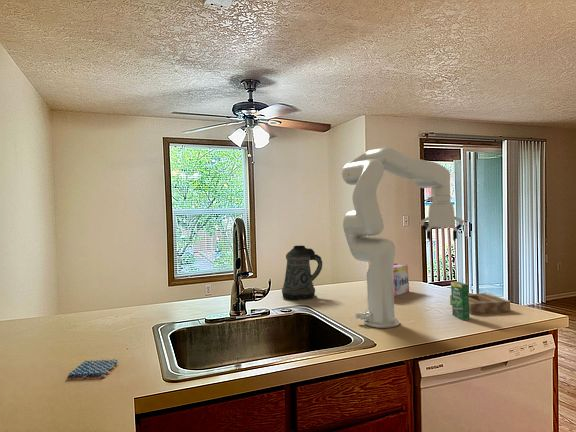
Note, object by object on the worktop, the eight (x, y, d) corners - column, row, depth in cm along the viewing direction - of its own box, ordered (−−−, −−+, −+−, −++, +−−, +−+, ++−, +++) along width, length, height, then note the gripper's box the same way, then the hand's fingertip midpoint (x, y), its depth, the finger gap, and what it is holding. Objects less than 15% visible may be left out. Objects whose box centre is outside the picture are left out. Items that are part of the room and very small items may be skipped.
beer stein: (276, 295, 197) (274, 246, 197) (310, 291, 205) (309, 243, 205) (290, 302, 182) (288, 248, 182) (326, 296, 190) (325, 245, 190)
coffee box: (451, 314, 152) (450, 281, 151) (458, 314, 152) (457, 280, 152) (462, 320, 144) (461, 285, 143) (470, 320, 144) (469, 284, 144)
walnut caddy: (471, 314, 151) (470, 303, 151) (450, 304, 167) (450, 294, 167) (510, 311, 153) (510, 300, 153) (485, 302, 169) (485, 292, 169)
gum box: (396, 289, 202) (396, 263, 202) (411, 291, 197) (410, 264, 196) (370, 297, 185) (369, 269, 185) (385, 300, 180) (384, 270, 180)
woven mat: (120, 364, 114) (120, 357, 114) (105, 380, 103) (104, 373, 103) (84, 366, 114) (84, 359, 114) (64, 382, 103) (64, 374, 103)
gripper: (418, 200, 164) (419, 241, 164) (463, 198, 158) (465, 241, 158) (419, 200, 171) (420, 240, 171) (462, 199, 165) (463, 239, 165)
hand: (441, 240), depth 165 cm, fingers open, 9 cm apart
